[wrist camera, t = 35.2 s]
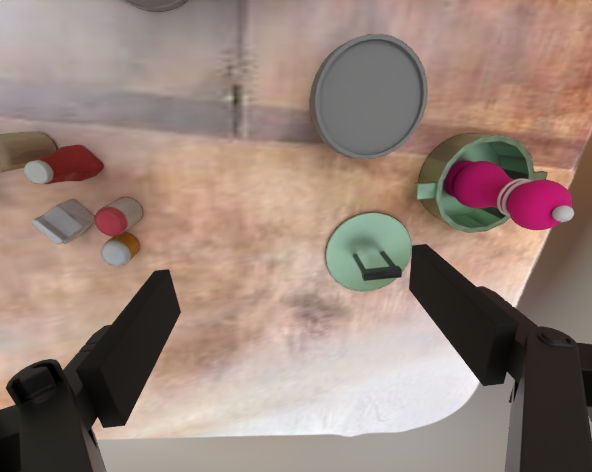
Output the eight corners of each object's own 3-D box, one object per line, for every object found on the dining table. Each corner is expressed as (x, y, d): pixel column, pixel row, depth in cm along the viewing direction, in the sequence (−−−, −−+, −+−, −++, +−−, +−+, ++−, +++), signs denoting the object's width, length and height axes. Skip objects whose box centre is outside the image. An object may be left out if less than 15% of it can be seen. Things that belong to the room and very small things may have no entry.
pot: (405, 139, 47) (423, 142, 41) (526, 128, 48) (562, 129, 42) (400, 224, 53) (415, 238, 47) (509, 213, 53) (538, 226, 47)
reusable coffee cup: (357, 161, 48) (389, 179, 34) (287, 126, 46) (292, 130, 32) (398, 84, 44) (454, 69, 31) (325, 40, 42) (349, 3, 28)
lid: (323, 215, 51) (331, 234, 43) (411, 207, 52) (436, 224, 44) (326, 291, 57) (335, 321, 49) (406, 283, 58) (427, 311, 50)
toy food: (-26, 148, 44) (-128, 159, 33) (24, 89, 42) (-68, 78, 31) (121, 267, 53) (79, 307, 42) (170, 224, 50) (139, 254, 39)
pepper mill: (485, 190, 51) (604, 232, 32) (445, 206, 52) (538, 256, 33) (479, 150, 48) (605, 171, 30) (436, 167, 49) (533, 198, 30)
